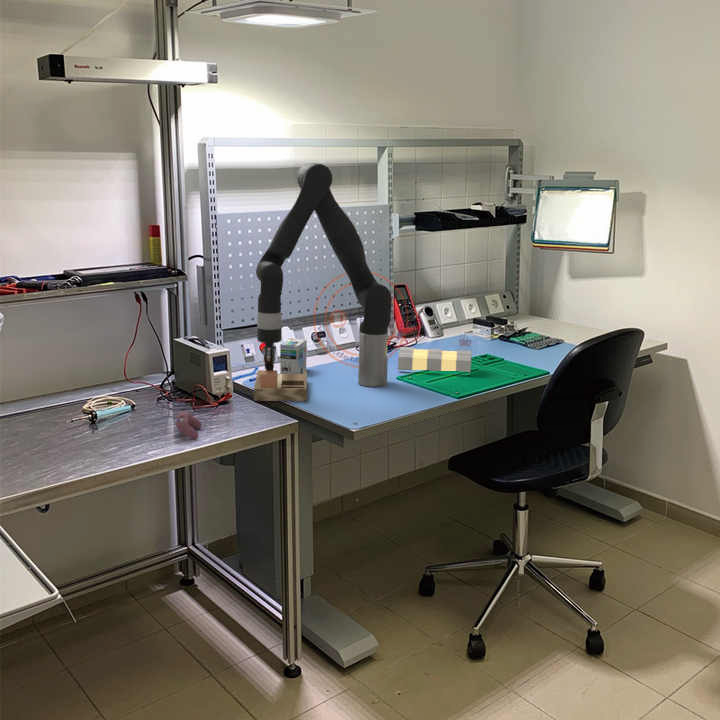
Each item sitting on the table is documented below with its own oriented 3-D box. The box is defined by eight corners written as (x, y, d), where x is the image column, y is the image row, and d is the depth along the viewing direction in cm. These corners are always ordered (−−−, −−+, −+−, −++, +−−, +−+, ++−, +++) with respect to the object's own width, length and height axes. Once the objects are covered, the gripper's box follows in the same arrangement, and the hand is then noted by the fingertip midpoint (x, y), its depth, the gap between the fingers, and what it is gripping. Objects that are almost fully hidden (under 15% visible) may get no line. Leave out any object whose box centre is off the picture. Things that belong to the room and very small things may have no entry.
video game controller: (188, 433, 219) (175, 411, 217) (203, 425, 219) (190, 403, 217) (183, 445, 210) (170, 422, 208) (199, 438, 210) (186, 415, 208)
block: (277, 385, 251) (277, 370, 250) (276, 390, 247) (276, 374, 245) (261, 385, 251) (261, 370, 250) (260, 390, 246) (259, 374, 245)
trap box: (306, 381, 267) (306, 370, 266) (306, 400, 245) (307, 389, 244) (257, 381, 265) (257, 370, 265) (253, 400, 244) (253, 389, 243)
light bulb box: (298, 376, 272) (298, 345, 270) (279, 375, 273) (279, 344, 271) (307, 369, 282) (307, 339, 280) (288, 367, 284) (288, 337, 281)
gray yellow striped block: (470, 370, 287) (472, 334, 284) (470, 377, 277) (472, 340, 274) (400, 366, 291) (402, 330, 287) (397, 373, 281) (399, 336, 278)
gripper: (280, 330, 243) (280, 386, 247) (282, 321, 256) (282, 374, 260) (255, 330, 243) (256, 385, 247) (258, 321, 256) (258, 374, 260)
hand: (269, 380), depth 254 cm, fingers closed
